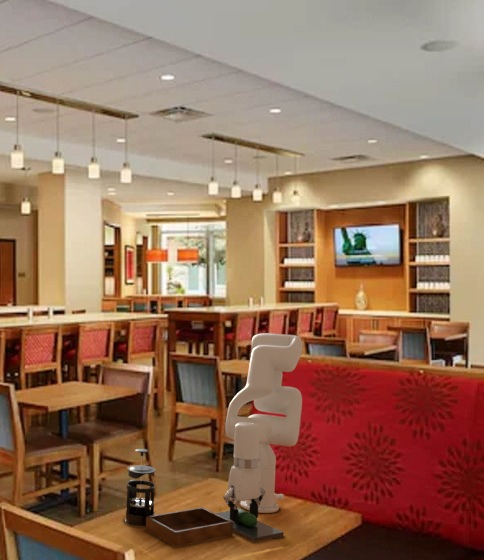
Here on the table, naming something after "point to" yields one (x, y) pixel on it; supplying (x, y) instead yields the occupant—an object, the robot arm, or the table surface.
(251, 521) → the cucumber
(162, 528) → the brown wooden tray
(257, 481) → the robot arm
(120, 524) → the table surface
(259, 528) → the board
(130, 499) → the french press
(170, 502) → the table surface
